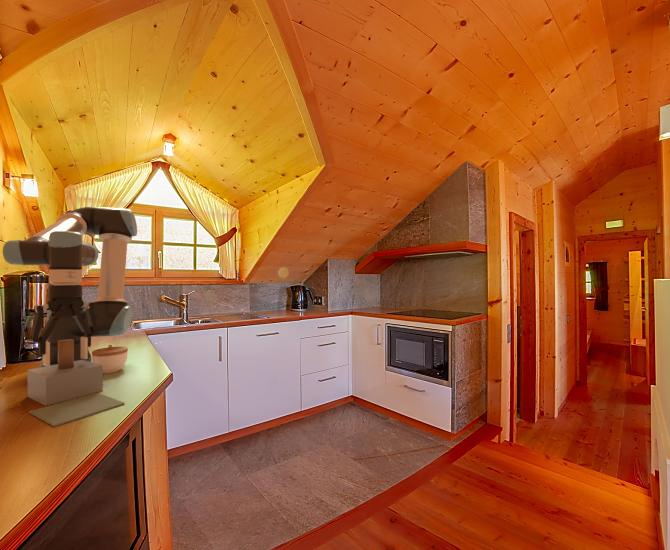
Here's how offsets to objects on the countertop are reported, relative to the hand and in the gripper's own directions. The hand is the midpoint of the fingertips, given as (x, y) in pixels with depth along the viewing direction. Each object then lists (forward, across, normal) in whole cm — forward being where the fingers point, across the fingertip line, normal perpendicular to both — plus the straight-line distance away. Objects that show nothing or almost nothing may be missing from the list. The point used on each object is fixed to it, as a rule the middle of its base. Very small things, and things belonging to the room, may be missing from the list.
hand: (65, 361), depth 94 cm
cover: (+9, 0, 0) cm, 9 cm away
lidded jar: (+10, +18, +14) cm, 25 cm away
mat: (+9, -3, -16) cm, 19 cm away
